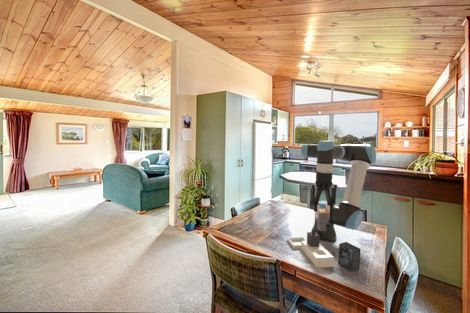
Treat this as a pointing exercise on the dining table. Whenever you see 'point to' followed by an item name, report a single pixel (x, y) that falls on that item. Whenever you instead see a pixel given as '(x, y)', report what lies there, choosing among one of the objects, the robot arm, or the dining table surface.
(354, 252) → the box
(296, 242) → the tray
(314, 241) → the twin plug
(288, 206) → the dining table surface
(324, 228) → the plug
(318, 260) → the beige socket block
